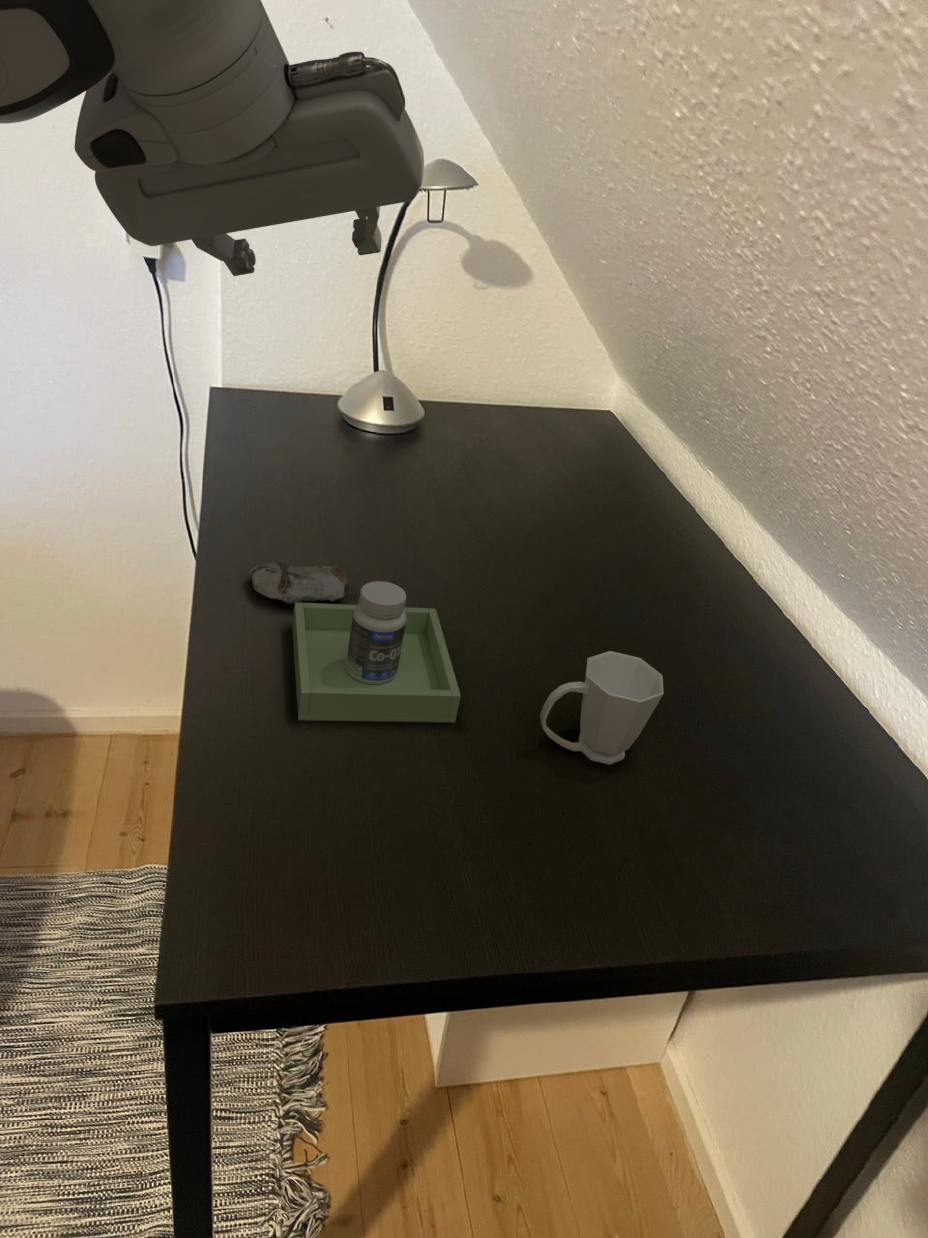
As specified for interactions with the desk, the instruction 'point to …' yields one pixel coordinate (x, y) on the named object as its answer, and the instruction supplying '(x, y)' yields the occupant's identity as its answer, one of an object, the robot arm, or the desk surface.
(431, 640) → the sage tray
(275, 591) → the stone
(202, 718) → the desk surface
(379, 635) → the pill bottle
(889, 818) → the desk surface
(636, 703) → the cup
